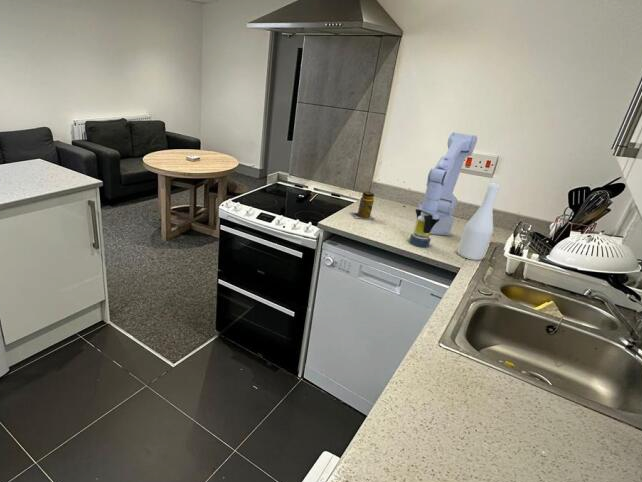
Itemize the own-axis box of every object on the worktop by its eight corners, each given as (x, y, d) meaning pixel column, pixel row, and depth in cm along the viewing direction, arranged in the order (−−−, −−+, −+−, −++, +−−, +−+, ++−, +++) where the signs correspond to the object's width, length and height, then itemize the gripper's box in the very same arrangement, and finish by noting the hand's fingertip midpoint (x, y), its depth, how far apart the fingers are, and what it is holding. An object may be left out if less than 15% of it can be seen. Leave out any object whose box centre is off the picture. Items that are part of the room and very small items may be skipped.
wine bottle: (467, 261, 152) (493, 186, 140) (451, 250, 161) (474, 179, 149) (488, 260, 154) (515, 187, 142) (471, 250, 163) (495, 180, 151)
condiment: (373, 219, 190) (378, 195, 185) (356, 218, 188) (361, 194, 184) (366, 213, 196) (371, 190, 192) (350, 213, 195) (355, 190, 190)
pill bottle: (431, 240, 161) (438, 215, 157) (416, 239, 161) (423, 214, 157) (424, 234, 167) (431, 210, 163) (410, 233, 167) (417, 209, 162)
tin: (424, 240, 169) (425, 234, 168) (432, 248, 162) (434, 241, 161) (406, 239, 169) (408, 232, 168) (413, 246, 162) (415, 240, 160)
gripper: (414, 192, 164) (406, 222, 169) (429, 203, 151) (420, 235, 156) (431, 193, 164) (422, 223, 169) (447, 204, 151) (438, 236, 156)
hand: (422, 229), depth 163 cm, fingers closed on pill bottle, 6 cm apart
